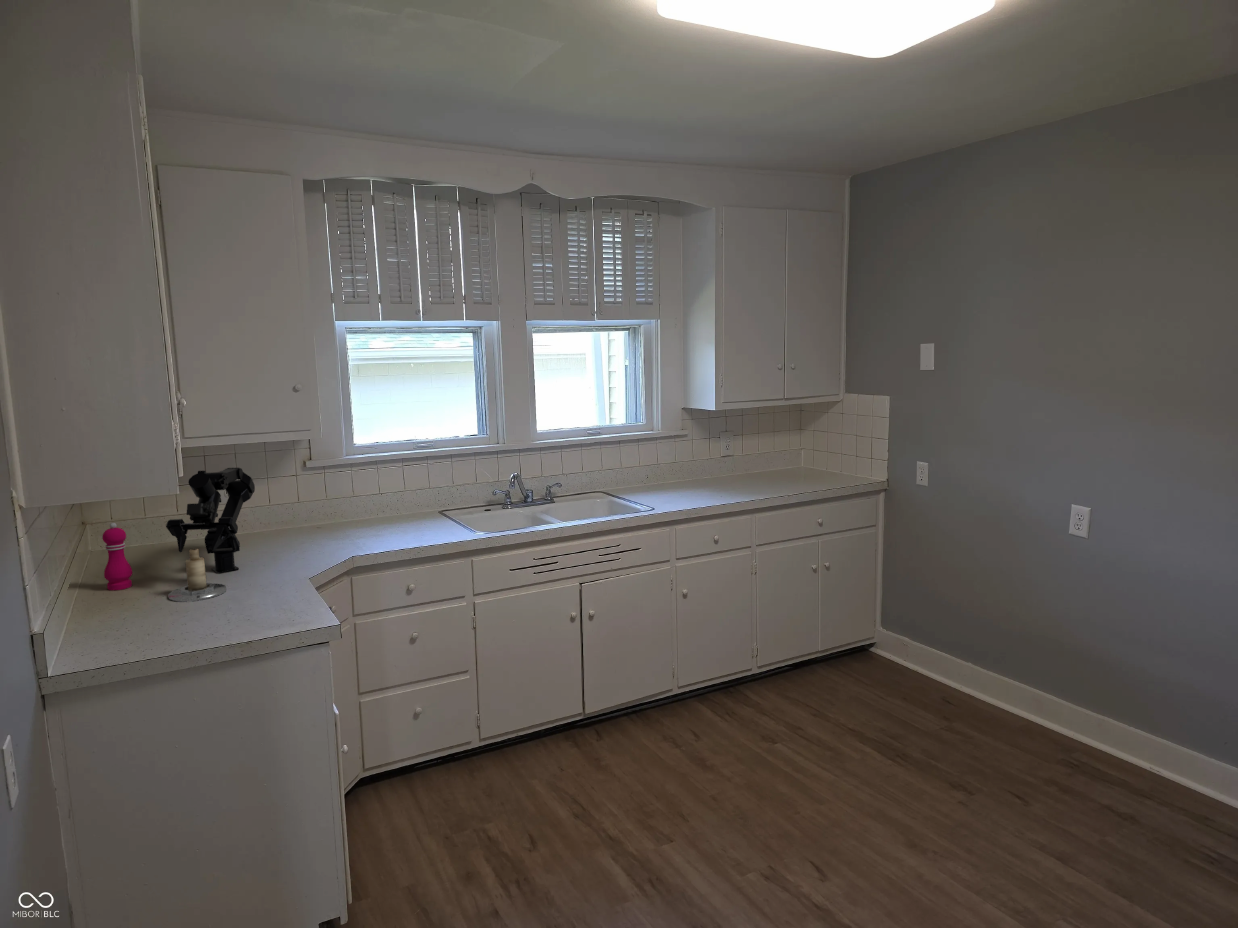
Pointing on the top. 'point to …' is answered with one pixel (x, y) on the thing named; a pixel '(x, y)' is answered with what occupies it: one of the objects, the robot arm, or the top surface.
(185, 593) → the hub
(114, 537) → the pepper mill
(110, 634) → the top surface
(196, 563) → the knob
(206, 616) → the top surface
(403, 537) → the top surface
